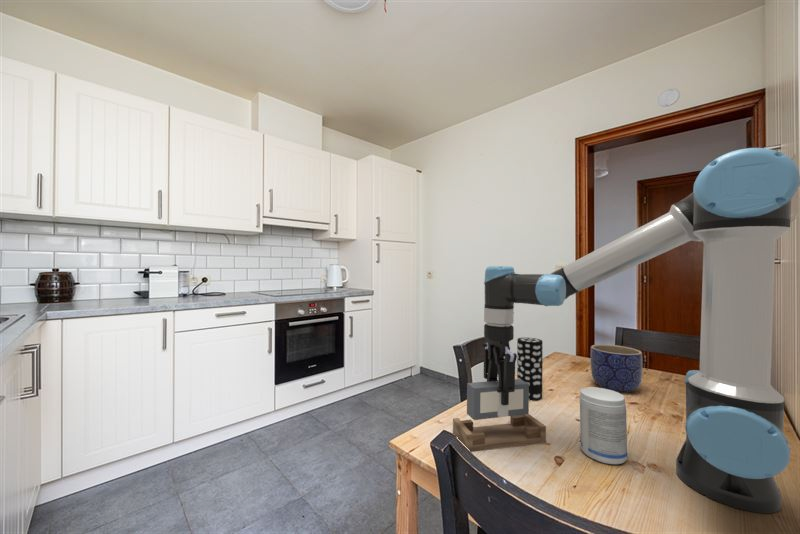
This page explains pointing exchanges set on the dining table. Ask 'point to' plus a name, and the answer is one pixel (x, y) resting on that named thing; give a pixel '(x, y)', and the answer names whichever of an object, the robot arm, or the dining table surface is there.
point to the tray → (500, 433)
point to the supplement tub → (603, 425)
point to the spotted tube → (530, 365)
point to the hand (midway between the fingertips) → (497, 411)
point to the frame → (495, 399)
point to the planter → (616, 367)
